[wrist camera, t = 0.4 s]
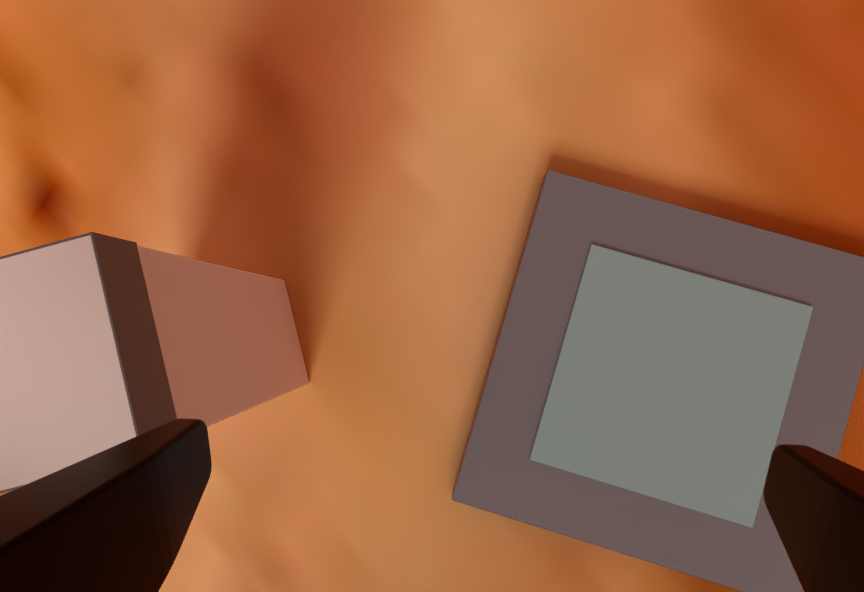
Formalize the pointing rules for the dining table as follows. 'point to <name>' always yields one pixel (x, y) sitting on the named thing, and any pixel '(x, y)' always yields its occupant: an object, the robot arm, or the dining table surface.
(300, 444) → the dining table surface
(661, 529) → the pad
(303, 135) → the dining table surface
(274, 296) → the block
